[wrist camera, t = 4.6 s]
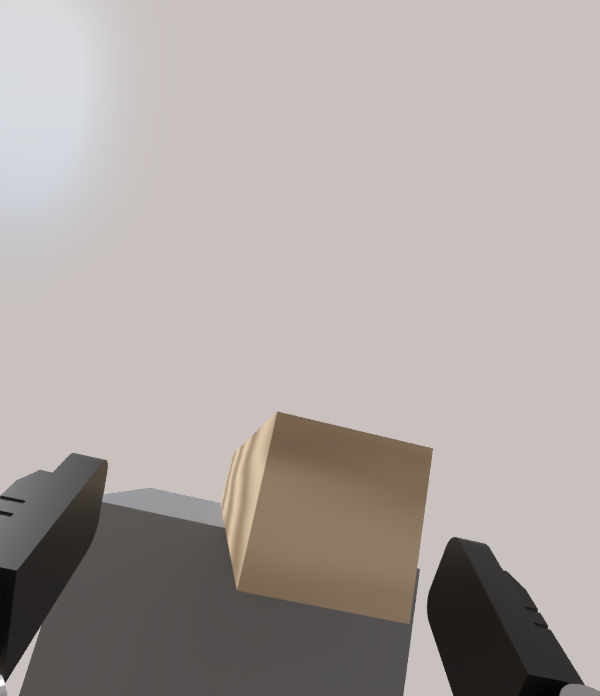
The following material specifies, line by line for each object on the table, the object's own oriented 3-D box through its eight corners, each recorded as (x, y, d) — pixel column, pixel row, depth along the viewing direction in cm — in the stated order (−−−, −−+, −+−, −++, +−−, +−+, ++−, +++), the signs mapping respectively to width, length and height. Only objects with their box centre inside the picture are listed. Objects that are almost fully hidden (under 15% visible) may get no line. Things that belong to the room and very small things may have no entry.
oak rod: (409, 623, 8) (432, 448, 9) (237, 590, 8) (277, 411, 9) (269, 515, 29) (280, 464, 30) (220, 504, 29) (232, 454, 30)
